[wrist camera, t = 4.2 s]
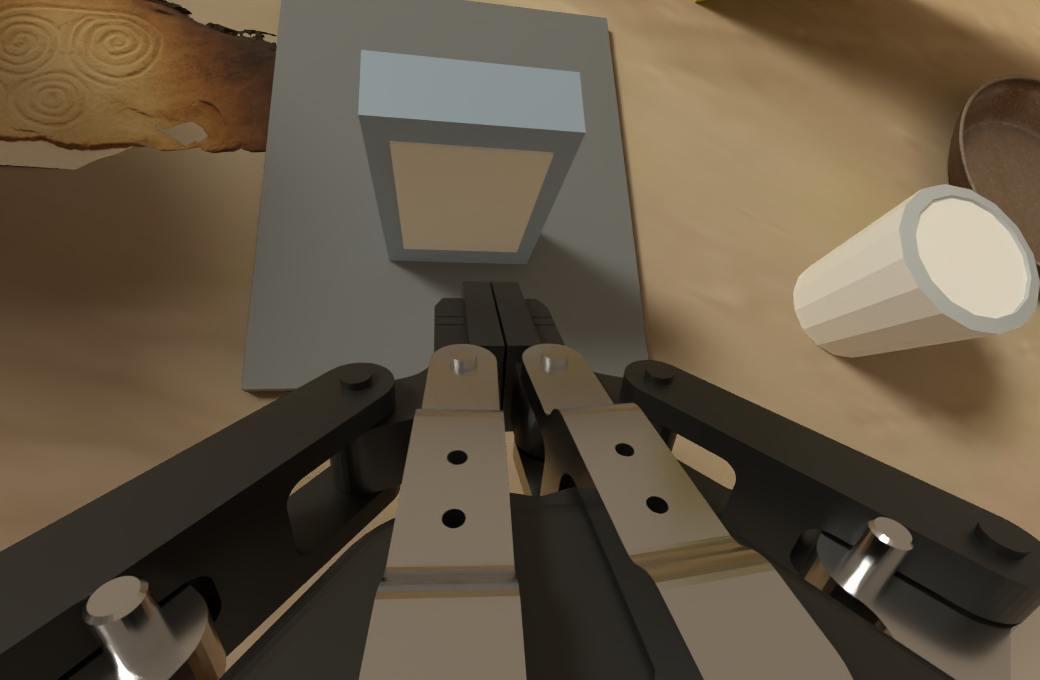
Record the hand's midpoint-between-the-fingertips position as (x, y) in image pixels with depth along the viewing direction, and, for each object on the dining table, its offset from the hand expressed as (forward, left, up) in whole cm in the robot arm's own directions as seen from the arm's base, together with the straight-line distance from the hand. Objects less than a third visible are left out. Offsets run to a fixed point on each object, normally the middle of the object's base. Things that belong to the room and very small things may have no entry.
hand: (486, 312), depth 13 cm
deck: (0, +6, -9) cm, 11 cm away
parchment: (-18, +14, -10) cm, 25 cm away
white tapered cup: (+21, +3, -9) cm, 23 cm away
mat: (0, +10, -9) cm, 14 cm away
